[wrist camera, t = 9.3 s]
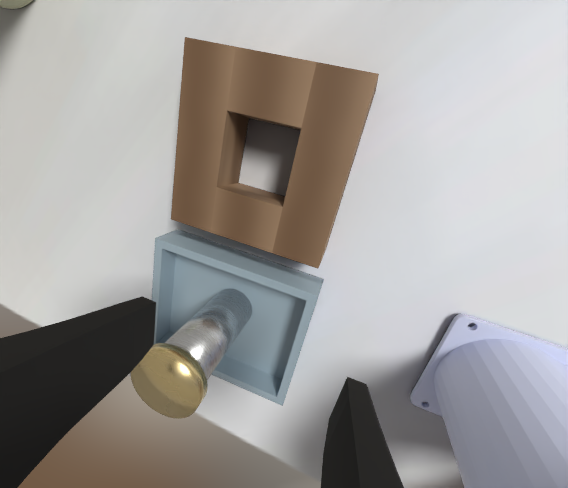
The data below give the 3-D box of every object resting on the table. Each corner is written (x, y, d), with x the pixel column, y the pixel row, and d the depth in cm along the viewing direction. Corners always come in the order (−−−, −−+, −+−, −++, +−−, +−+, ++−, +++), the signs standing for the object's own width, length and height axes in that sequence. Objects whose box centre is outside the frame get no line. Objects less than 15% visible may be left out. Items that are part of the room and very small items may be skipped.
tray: (323, 279, 19) (318, 295, 17) (290, 380, 23) (282, 405, 20) (177, 229, 21) (155, 238, 19) (169, 329, 25) (149, 346, 22)
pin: (261, 293, 20) (203, 373, 12) (251, 336, 21) (194, 429, 14) (213, 276, 21) (131, 341, 13) (207, 318, 22) (129, 398, 15)
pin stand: (376, 89, 15) (378, 73, 12) (324, 251, 18) (318, 268, 16) (214, 57, 17) (184, 37, 14) (197, 210, 20) (170, 219, 17)
